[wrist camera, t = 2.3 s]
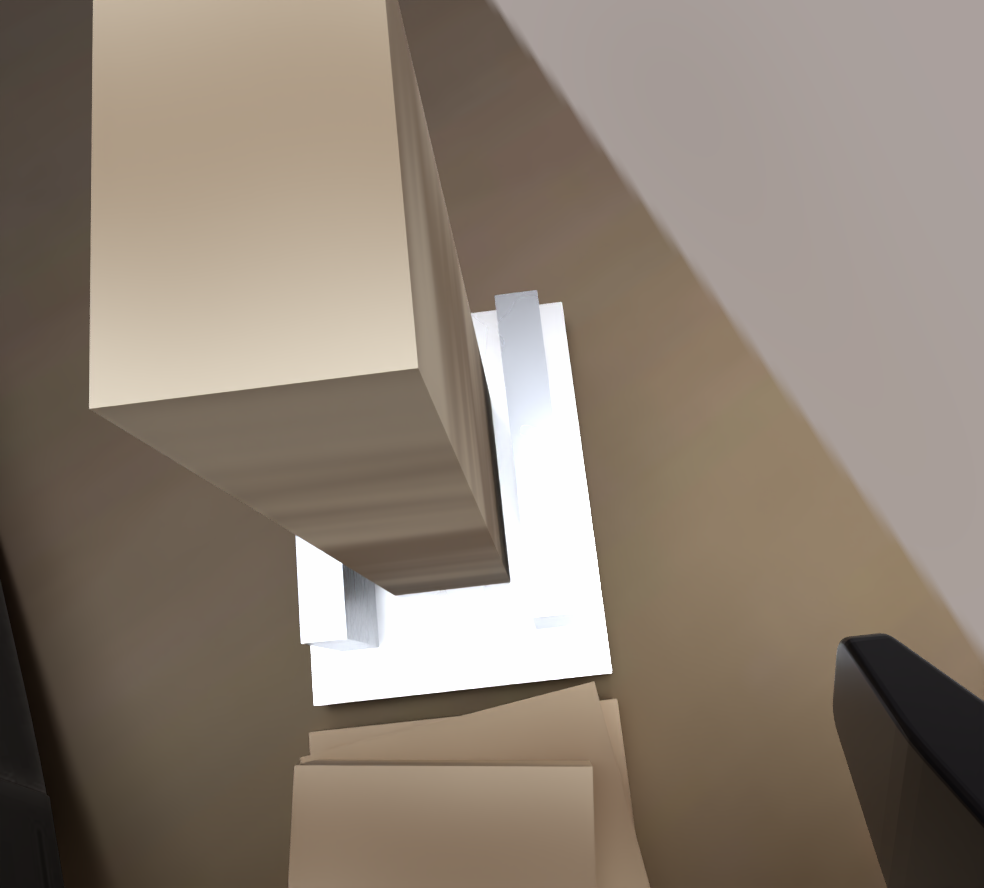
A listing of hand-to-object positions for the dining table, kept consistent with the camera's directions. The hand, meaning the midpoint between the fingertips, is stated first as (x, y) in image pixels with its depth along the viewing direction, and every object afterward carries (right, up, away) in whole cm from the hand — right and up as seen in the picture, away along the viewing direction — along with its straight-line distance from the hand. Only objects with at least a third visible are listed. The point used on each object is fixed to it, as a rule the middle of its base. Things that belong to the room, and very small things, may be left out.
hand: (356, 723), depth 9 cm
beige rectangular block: (0, +2, +11) cm, 11 cm away
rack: (0, +1, +12) cm, 12 cm away
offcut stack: (+1, -5, +10) cm, 12 cm away
